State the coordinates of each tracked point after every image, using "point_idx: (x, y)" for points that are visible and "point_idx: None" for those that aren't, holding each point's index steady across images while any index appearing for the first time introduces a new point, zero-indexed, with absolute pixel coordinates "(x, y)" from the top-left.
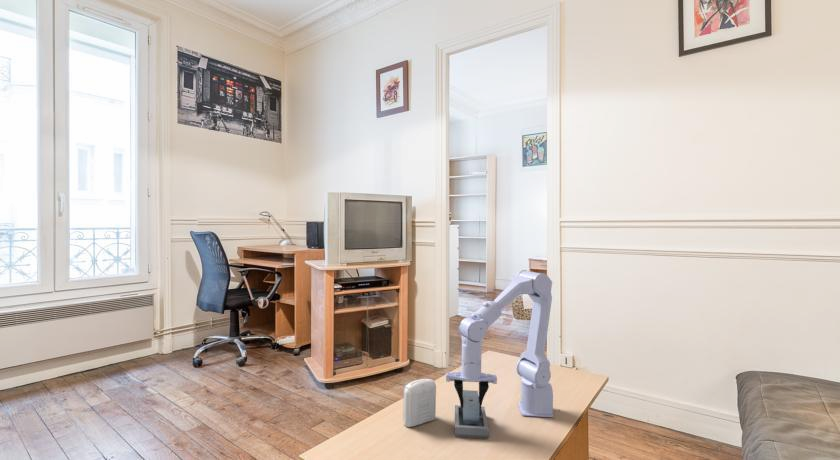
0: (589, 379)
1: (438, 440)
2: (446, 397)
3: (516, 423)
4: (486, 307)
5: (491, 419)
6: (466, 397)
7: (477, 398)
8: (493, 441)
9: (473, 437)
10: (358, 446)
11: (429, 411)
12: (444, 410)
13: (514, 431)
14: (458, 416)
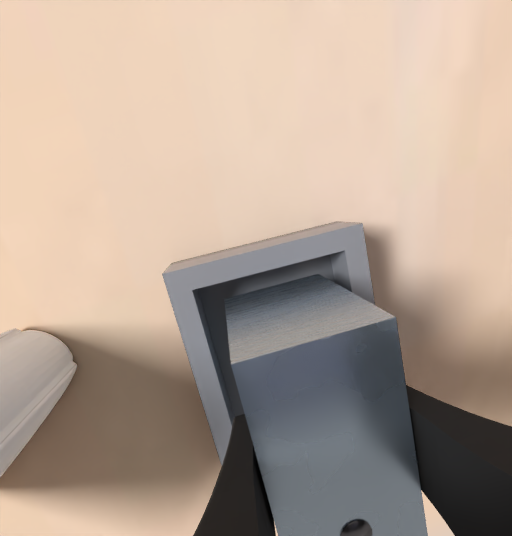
0: None
1: (166, 512)
2: (35, 30)
3: (492, 243)
4: None
5: (376, 247)
6: (304, 503)
7: (407, 479)
8: None
9: None
10: None
11: (21, 447)
12: (94, 238)
13: (477, 318)
14: (224, 404)
